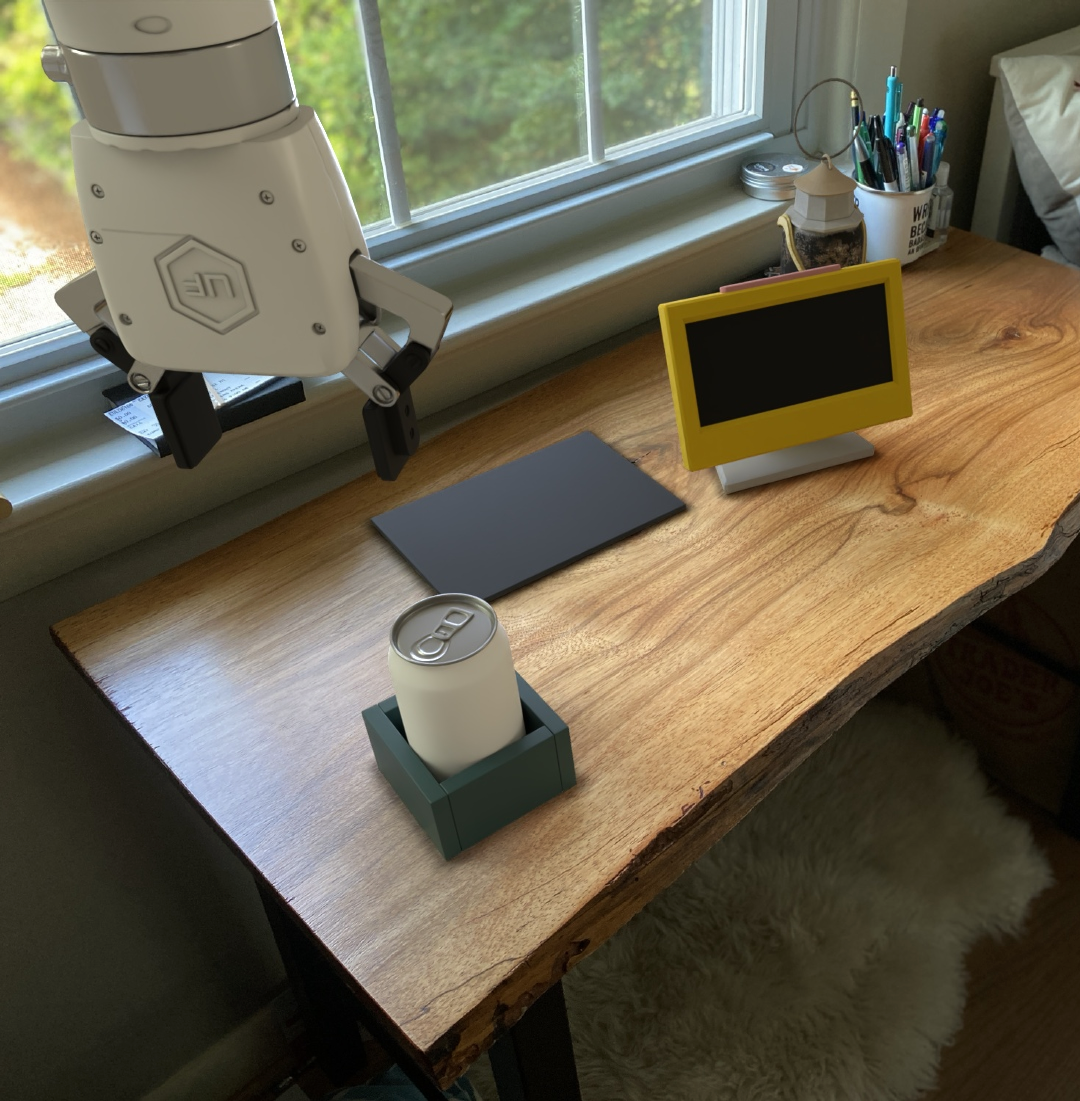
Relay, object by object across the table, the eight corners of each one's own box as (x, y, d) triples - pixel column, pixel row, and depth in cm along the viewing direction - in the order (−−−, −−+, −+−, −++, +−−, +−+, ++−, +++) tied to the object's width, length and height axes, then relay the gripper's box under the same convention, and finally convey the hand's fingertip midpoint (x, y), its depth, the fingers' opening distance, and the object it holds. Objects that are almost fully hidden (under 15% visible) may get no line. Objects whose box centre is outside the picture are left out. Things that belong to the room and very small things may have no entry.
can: (399, 800, 64) (355, 651, 57) (460, 723, 69) (427, 576, 62) (495, 834, 63) (462, 684, 55) (551, 753, 67) (528, 605, 60)
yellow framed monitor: (691, 508, 87) (685, 326, 77) (655, 458, 93) (645, 282, 83) (909, 450, 93) (930, 275, 84) (864, 406, 99) (877, 238, 89)
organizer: (446, 862, 61) (430, 804, 58) (378, 768, 66) (360, 711, 63) (577, 784, 65) (569, 726, 62) (503, 702, 71) (493, 645, 67)
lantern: (836, 321, 112) (852, 60, 96) (877, 356, 106) (901, 84, 91) (759, 339, 109) (763, 72, 94) (797, 375, 103) (808, 98, 88)
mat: (458, 617, 77) (457, 611, 77) (371, 523, 86) (370, 518, 85) (686, 509, 87) (686, 503, 87) (588, 434, 95) (587, 430, 95)
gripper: (-95, 104, 40) (82, 494, 50) (372, 119, 38) (452, 517, 49) (31, 49, 45) (165, 408, 56) (440, 59, 44) (498, 426, 55)
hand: (299, 458), depth 52 cm, fingers open, 9 cm apart
